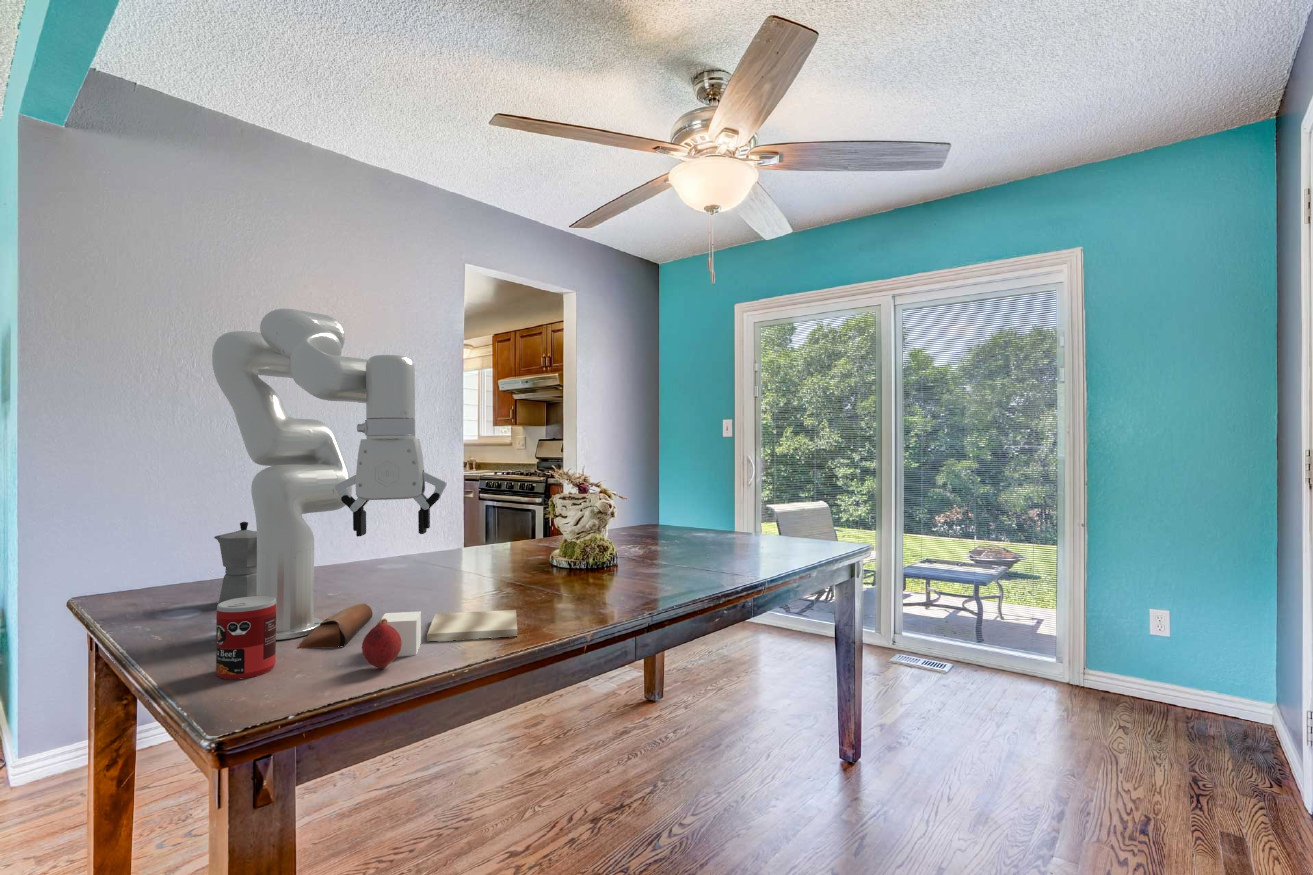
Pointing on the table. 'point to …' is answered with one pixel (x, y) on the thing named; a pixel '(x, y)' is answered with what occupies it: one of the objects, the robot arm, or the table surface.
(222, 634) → the canned food
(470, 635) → the birch board
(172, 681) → the table surface
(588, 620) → the table surface
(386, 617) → the letter cube
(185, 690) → the table surface
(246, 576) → the coffeepot
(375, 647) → the onion
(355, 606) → the sunglasses case
